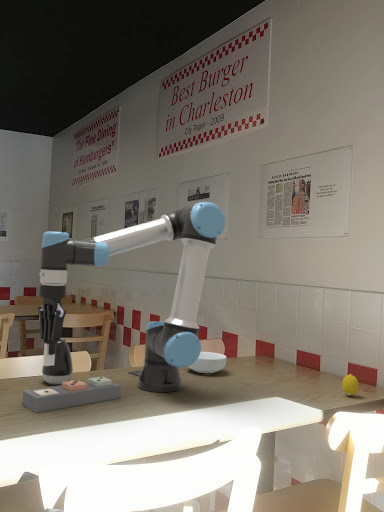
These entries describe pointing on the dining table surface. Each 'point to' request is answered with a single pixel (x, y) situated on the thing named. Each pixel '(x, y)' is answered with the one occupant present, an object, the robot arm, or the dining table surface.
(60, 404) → the button panel
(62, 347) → the black egg-shaped speaker
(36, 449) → the dining table surface
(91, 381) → the button two sage
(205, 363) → the cereal bowl
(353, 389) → the lemon
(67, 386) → the button three terracotta
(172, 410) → the dining table surface
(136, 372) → the smartphone
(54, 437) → the dining table surface
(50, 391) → the button one cream
